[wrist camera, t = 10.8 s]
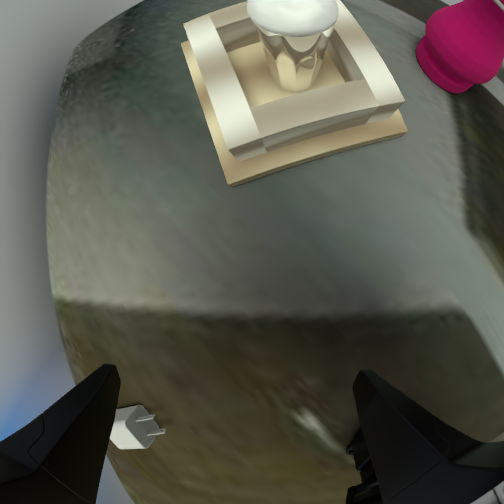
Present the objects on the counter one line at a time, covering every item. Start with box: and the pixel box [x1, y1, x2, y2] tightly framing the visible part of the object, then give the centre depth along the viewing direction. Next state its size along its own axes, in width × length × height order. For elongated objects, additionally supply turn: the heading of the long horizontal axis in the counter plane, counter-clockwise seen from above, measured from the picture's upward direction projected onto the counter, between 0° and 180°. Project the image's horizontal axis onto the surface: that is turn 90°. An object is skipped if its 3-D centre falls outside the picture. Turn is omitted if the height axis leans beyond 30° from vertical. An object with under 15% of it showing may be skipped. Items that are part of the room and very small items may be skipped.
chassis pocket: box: [181, 0, 408, 187], centre depth 16 cm, size 14×14×5 cm
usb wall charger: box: [110, 405, 167, 449], centre depth 22 cm, size 4×7×4 cm, turn 118°
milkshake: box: [247, 0, 339, 92], centre depth 12 cm, size 4×5×10 cm
